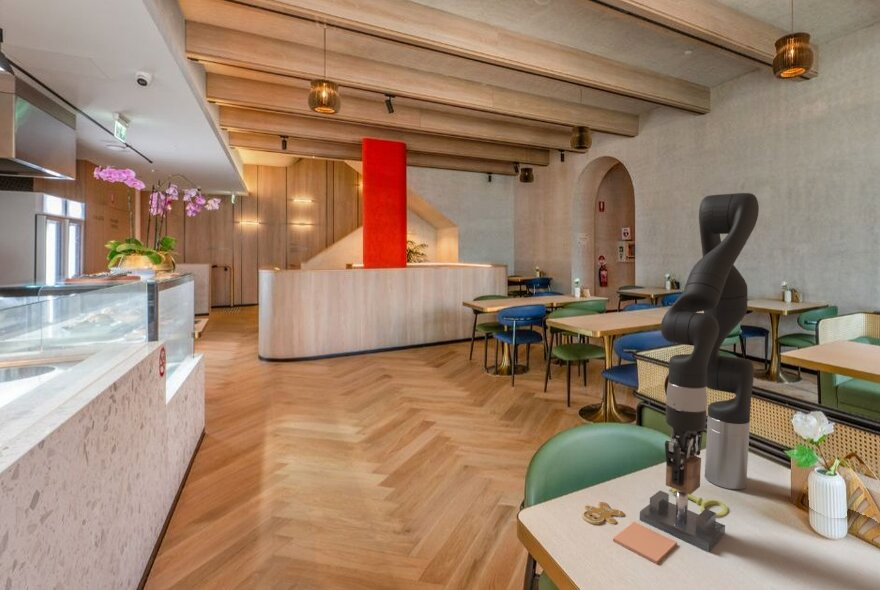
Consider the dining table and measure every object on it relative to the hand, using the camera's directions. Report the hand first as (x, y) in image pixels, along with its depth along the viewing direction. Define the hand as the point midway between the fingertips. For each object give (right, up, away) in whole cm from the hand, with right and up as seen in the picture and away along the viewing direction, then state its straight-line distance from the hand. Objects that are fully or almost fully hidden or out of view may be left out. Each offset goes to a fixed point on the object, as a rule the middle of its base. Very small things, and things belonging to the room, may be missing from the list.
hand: (682, 479), depth 94 cm
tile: (-11, -11, -5) cm, 16 cm away
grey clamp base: (0, -11, +1) cm, 11 cm away
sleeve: (0, -1, 0) cm, 1 cm away
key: (+9, -11, +10) cm, 17 cm away
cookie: (-16, -11, +5) cm, 20 cm away
